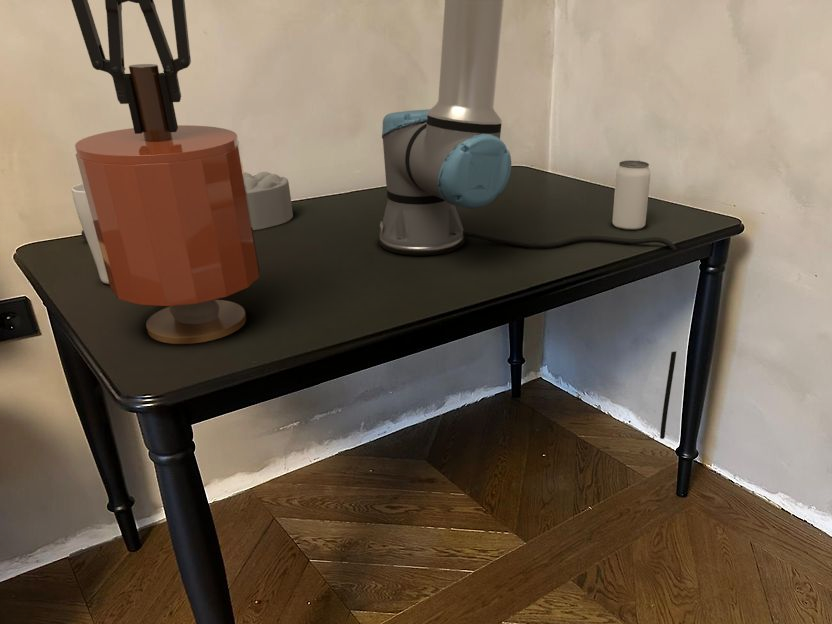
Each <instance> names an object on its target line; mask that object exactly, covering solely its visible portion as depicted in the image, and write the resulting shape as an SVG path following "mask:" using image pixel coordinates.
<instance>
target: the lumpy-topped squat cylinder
mask: <svg viewBox="0 0 832 624" xmlns="http://www.w3.org/2000/svg"><path fill="white" fill-rule="evenodd" d="M244 177H245V184H246V190H247V196H248V203H249V209H250V215H251V222H252V228H253V231H258V230H262V229H263V230H264V229H267V228H272V227H274V226H279V225H281V224H282V225H283V224H285V223H287V222H289V221H291V220H292V219H293V217H294V213H293V205H292V196H291V190H290V183H289V179H288V178H287V177H284V176H279V175H278V174H276V173H271V172H268V171H261V172H258V173H257V174H256V175H255V174H254V175H252V174H251V173H249V172H244Z"/></svg>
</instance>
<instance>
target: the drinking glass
mask: <svg viewBox="0 0 832 624" xmlns="http://www.w3.org/2000/svg"><path fill="white" fill-rule="evenodd" d="M70 190H71V194H72V199H73V203H74V207H75V210H76V214H77V217H78V220H79V223H80V226H81V229H82V230H83V231H84V234H85V236H86V239H87V241H86V242H87V245H88V247H89V249H90V252H91V253H90V254H91V255H92V258H93V261H94V264H95V266H96V269H97V273H98V276H99V279H100V281H101V282H102V283H104V284H106V285H109V286H110V284H109V280H108V276H107V272H106V269H105V265H104V261H103V257H102V253H101V250H100V246H99V242H98V238H97V234H96V231H95V227H94V223H93V219H92V215H91V212H90V208H89V204H88V200H87V196H86V193H85V189H84V185H83V182H81V183H78V184H75V185H73V186H72V187H71V188H70Z"/></svg>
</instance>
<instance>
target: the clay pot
mask: <svg viewBox="0 0 832 624" xmlns="http://www.w3.org/2000/svg"><path fill="white" fill-rule="evenodd" d="M128 69H129V74H130V75H131V79H132V84H133V89H134V93H135V98H136V102H137V107H138V112H139V116H140V121H141V125H142V130H143V132H142V134H135V132H134V127H131V128H123V129H116V130H111V131H106V132H101V133H97V134H93V135H90V136H87V137H84V138H81V139H80V140H78V141H77V142H76V143H75V144H74V147H75V151H76V153H75V158H76V161H77V165H78V169H79V173H80V177H81V181H82V183H83V185H84V189H85V193H86V196H87V200H88V204H89V208H90V212H91V215H92V219H93V223H94V227H95V231H96V234H97V238H98V242H99V246H100V250H101V253H102V257H103V261H104V265H105V269H106V272H107V276H108V280H109V284H110V285H109V284H108V285H109V287H110V291H111V292H112V293H113V294H114V296H116V297H117V299H118V300H120V301H124V302H128V303H131V304H135V305H138V306H155V307H156V306H157V307H170V306H175V305H186V304H196V303H201V302H206V301H210V300H214V299H215V300H219V299H223V298H226V297H229V296H231V295H234V294H236V293H239V292H241V291H243V290H245V289H248V288H249V287H250V286H251V285H252V284H253V283H254V282H256V281H257V280H258V279H259V278H260V266H259V261H258V260H259V259H258V254H257V253H258V252H257V248H256V241H255V235H254V230H253V228H252V222H251V215H250V209H249V203H248V196H247V190H246V184H245V177H244V165H243V159H242V154H241V153H242V152H241V146H240V141H239V139H238V135H237V133H236V132H235V131H233V130H230V129H227V128H222V127H216V126H210V125H209V126H208V125H188V124H187V125H186V124H185V125H181V124H180V125H178V124H177V125H178V129H177V131H176V132H169V127H168V122H167V117H166V112H165V107H164V102H163V97H162V92H161V87H160V82H159V77H158V75H159V74H160V73H161V72H160V68H159V65H158V64H153V63H137V64H131V65H128Z"/></svg>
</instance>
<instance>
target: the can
mask: <svg viewBox="0 0 832 624" xmlns="http://www.w3.org/2000/svg"><path fill="white" fill-rule="evenodd" d="M618 164H619V165H618V167H617V169H616V172H615V183H614V196H613V208H612V222H611V223H612V225H613V227H615V228H617V229H619V230H625V231H638V230H641V229H643V228H644V227H645V226H646V220H647V213H648V204H649V192H650V182H651V171H650V168H649V166H650V164H649V163H648V162H647V161H643V160H635V159H634V160H629V159H628V160H622V161H619V163H618Z"/></svg>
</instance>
